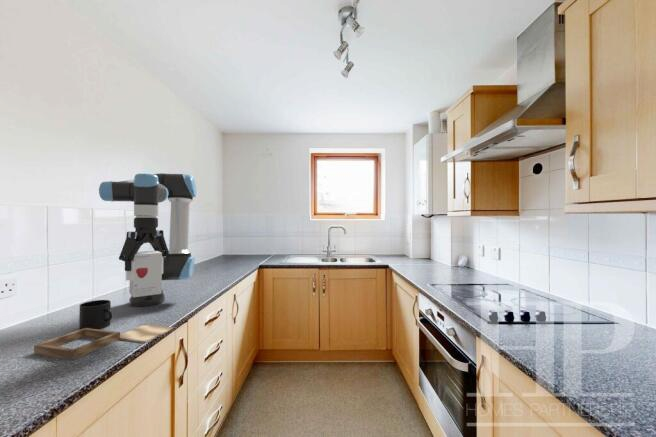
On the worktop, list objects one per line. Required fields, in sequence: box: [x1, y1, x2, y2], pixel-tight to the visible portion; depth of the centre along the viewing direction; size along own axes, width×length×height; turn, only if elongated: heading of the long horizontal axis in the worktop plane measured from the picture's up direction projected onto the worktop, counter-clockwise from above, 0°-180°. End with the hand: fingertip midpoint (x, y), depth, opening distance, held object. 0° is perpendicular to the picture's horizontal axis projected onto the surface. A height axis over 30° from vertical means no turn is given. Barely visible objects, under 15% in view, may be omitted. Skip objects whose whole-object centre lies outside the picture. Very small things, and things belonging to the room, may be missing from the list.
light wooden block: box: [118, 323, 175, 344], centre depth 109 cm, size 13×13×1 cm
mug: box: [78, 299, 113, 330], centre depth 115 cm, size 9×12×9 cm
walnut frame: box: [33, 328, 121, 361], centre depth 98 cm, size 15×15×2 cm
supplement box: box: [128, 250, 163, 297], centre depth 109 cm, size 9×9×15 cm
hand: (145, 276), depth 109 cm, fingers closed on supplement box, 12 cm apart
